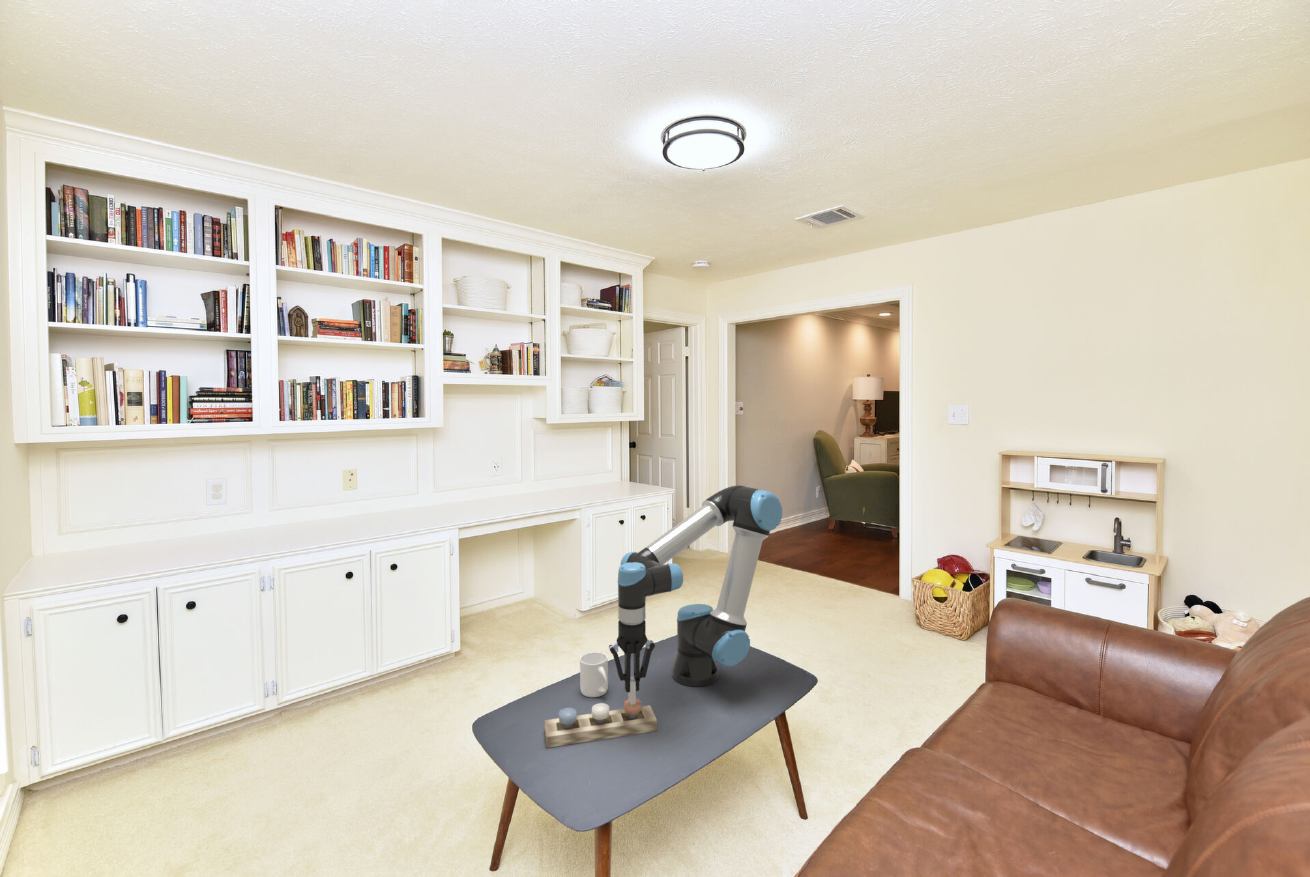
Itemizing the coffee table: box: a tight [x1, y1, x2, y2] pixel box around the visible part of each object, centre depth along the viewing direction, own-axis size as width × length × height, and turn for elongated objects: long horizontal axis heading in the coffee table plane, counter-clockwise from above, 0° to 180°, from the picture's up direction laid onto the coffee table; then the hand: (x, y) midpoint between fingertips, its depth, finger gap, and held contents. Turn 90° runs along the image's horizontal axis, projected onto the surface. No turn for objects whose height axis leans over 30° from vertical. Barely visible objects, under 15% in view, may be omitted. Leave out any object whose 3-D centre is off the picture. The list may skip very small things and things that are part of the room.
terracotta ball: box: [623, 698, 642, 720], centre depth 162 cm, size 5×5×4 cm
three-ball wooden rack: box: [544, 705, 658, 749], centre depth 160 cm, size 30×8×3 cm, turn 104°
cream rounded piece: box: [591, 702, 610, 725], centre depth 160 cm, size 5×5×4 cm
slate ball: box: [558, 707, 578, 730], centre depth 158 cm, size 5×5×4 cm
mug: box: [579, 651, 609, 698], centre depth 180 cm, size 9×12×11 cm
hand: (632, 702), depth 162 cm, fingers closed
